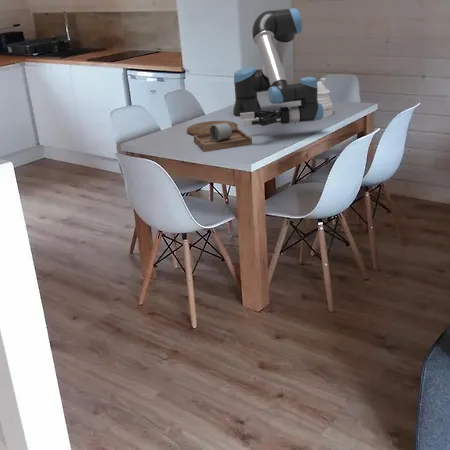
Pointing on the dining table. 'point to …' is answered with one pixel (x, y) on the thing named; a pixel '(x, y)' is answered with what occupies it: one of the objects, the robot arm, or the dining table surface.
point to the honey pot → (324, 98)
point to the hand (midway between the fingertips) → (242, 119)
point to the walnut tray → (222, 141)
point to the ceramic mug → (220, 132)
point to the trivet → (207, 127)
